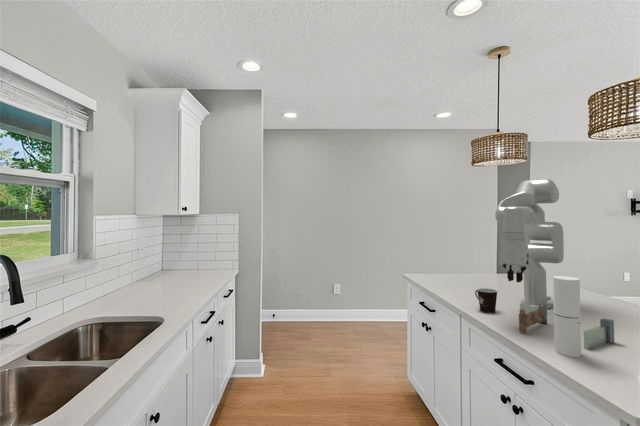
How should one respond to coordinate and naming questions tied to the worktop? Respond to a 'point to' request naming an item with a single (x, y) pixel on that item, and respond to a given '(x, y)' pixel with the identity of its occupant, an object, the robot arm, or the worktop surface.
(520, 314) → the gate
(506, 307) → the worktop surface
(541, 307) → the hinge post
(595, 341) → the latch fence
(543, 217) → the robot arm
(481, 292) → the coffee mug
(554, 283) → the cylindrical container
